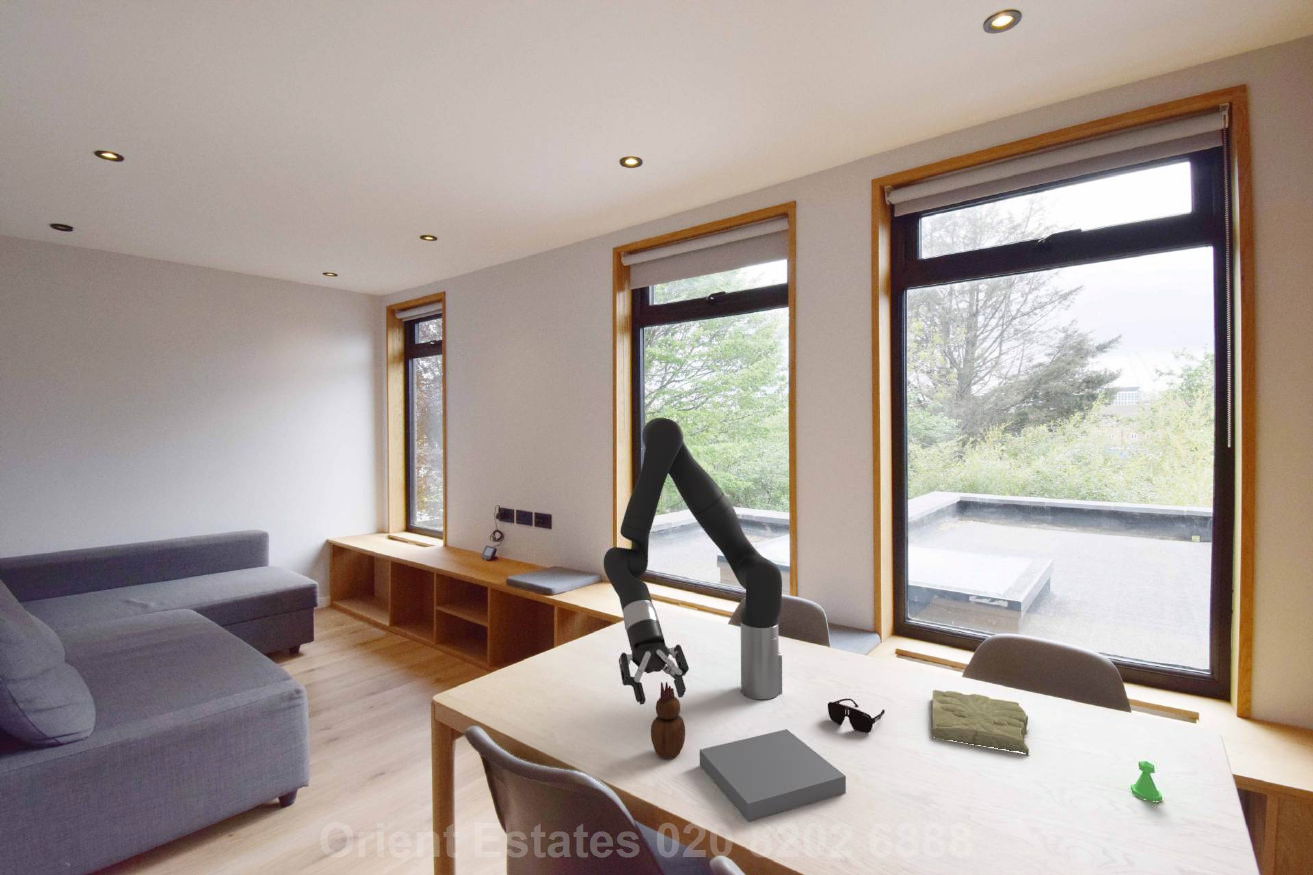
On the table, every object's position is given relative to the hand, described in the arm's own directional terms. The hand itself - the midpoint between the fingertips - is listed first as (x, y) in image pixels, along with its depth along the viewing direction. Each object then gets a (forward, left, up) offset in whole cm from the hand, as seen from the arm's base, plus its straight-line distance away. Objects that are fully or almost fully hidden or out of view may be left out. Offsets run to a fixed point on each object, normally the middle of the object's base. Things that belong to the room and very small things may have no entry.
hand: (662, 699), depth 120 cm
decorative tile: (-67, +18, -11) cm, 70 cm away
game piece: (-72, +47, -10) cm, 87 cm away
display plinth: (-14, +17, -10) cm, 24 cm away
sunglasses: (-45, +6, -11) cm, 46 cm away
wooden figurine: (0, +2, -10) cm, 11 cm away
